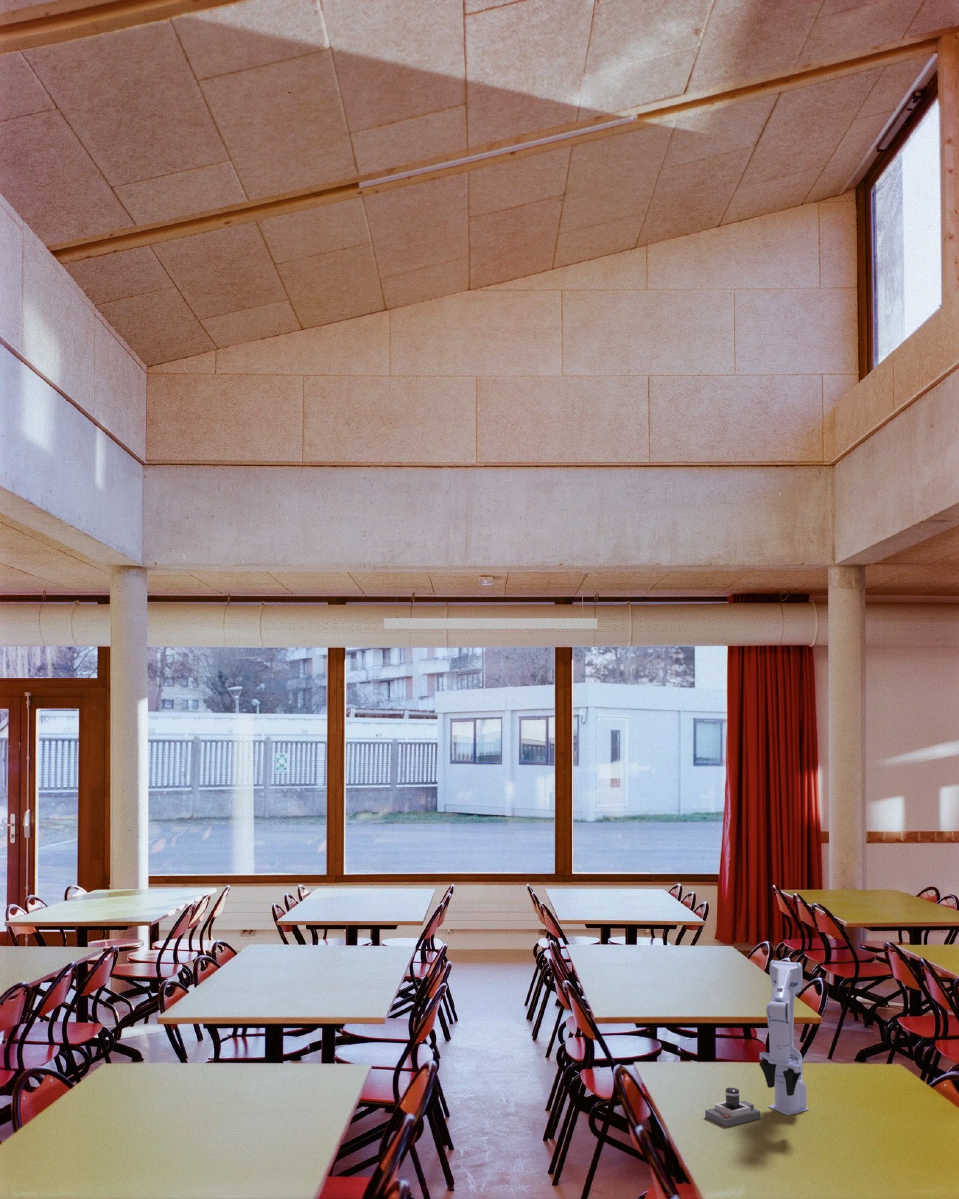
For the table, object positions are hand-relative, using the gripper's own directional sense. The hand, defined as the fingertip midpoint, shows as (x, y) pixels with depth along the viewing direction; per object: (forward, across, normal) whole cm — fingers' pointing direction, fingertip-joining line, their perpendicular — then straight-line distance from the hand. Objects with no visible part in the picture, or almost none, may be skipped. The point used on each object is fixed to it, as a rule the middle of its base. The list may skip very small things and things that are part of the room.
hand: (780, 1091), depth 302 cm
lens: (+8, -12, -8) cm, 16 cm away
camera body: (+10, -12, -8) cm, 17 cm away
